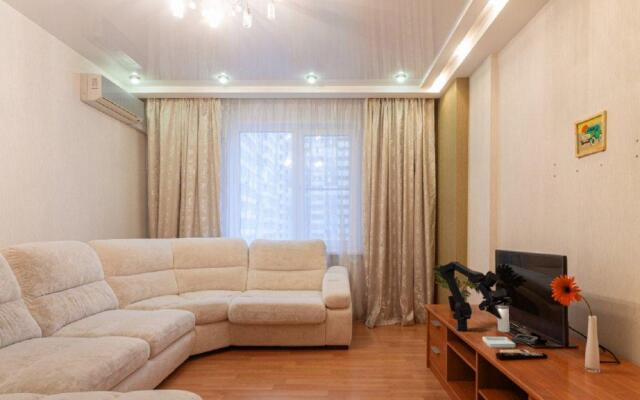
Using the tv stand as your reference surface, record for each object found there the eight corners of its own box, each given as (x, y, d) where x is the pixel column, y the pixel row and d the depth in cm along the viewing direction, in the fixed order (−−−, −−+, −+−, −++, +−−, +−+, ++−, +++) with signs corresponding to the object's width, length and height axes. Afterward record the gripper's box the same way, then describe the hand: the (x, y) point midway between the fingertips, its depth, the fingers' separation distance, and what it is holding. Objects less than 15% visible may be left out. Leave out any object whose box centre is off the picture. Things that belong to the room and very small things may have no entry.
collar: (512, 341, 200) (512, 337, 200) (518, 337, 207) (518, 333, 207) (531, 345, 193) (531, 341, 194) (537, 341, 200) (537, 337, 200)
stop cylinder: (498, 328, 201) (496, 304, 202) (510, 329, 198) (508, 305, 199) (497, 331, 196) (496, 306, 197) (509, 332, 194) (508, 307, 194)
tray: (482, 340, 203) (482, 336, 203) (506, 340, 202) (506, 336, 202) (490, 347, 191) (489, 343, 191) (515, 348, 190) (515, 343, 190)
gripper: (481, 284, 199) (499, 310, 188) (508, 281, 206) (527, 306, 195) (471, 297, 206) (488, 323, 195) (497, 294, 213) (515, 319, 202)
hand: (505, 317), depth 196 cm, fingers closed on stop cylinder, 5 cm apart
